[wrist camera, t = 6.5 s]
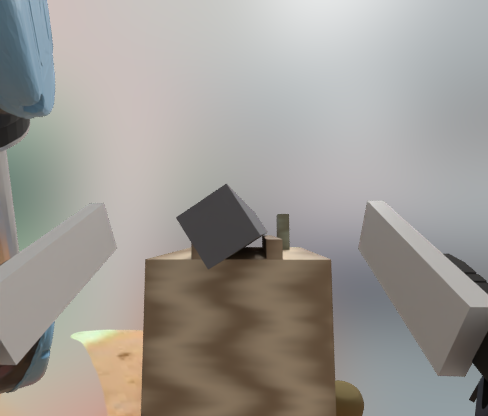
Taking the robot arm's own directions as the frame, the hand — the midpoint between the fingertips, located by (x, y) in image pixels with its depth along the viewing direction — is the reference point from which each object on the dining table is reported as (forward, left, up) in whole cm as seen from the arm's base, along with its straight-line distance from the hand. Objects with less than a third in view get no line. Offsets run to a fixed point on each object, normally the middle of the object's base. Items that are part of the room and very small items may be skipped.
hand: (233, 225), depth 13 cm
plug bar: (+1, +13, -1) cm, 13 cm away
